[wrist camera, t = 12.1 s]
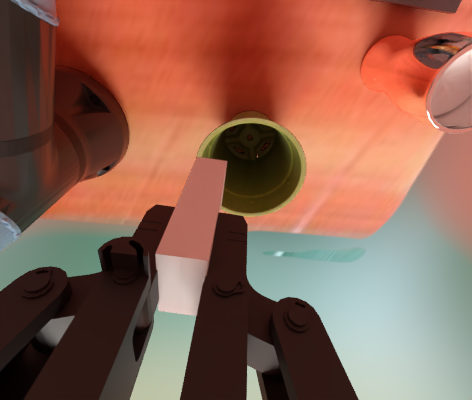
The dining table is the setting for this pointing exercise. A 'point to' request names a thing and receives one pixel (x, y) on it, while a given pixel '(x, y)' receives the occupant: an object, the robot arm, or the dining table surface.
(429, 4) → the steam engine
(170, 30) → the dining table surface
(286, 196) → the plant pot
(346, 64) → the dining table surface
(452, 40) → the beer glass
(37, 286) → the robot arm
